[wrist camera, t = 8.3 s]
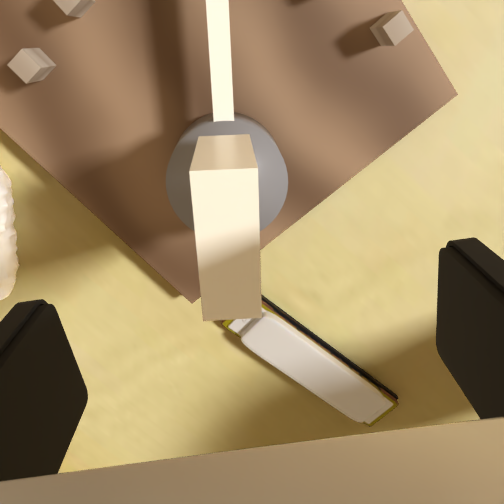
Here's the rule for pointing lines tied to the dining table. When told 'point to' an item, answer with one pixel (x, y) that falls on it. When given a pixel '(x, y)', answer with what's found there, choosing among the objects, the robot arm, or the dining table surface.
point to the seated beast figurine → (7, 238)
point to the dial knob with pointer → (226, 187)
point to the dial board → (207, 100)
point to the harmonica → (313, 364)
